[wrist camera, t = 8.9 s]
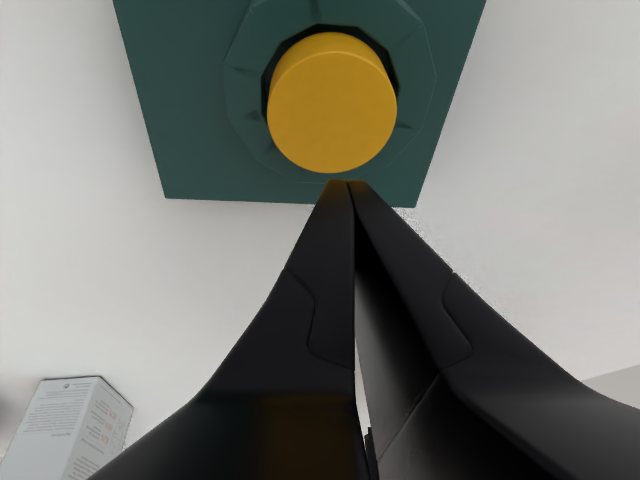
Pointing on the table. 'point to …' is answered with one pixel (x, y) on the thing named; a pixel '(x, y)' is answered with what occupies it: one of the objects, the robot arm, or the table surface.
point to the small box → (67, 431)
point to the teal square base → (254, 85)
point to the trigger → (330, 103)
